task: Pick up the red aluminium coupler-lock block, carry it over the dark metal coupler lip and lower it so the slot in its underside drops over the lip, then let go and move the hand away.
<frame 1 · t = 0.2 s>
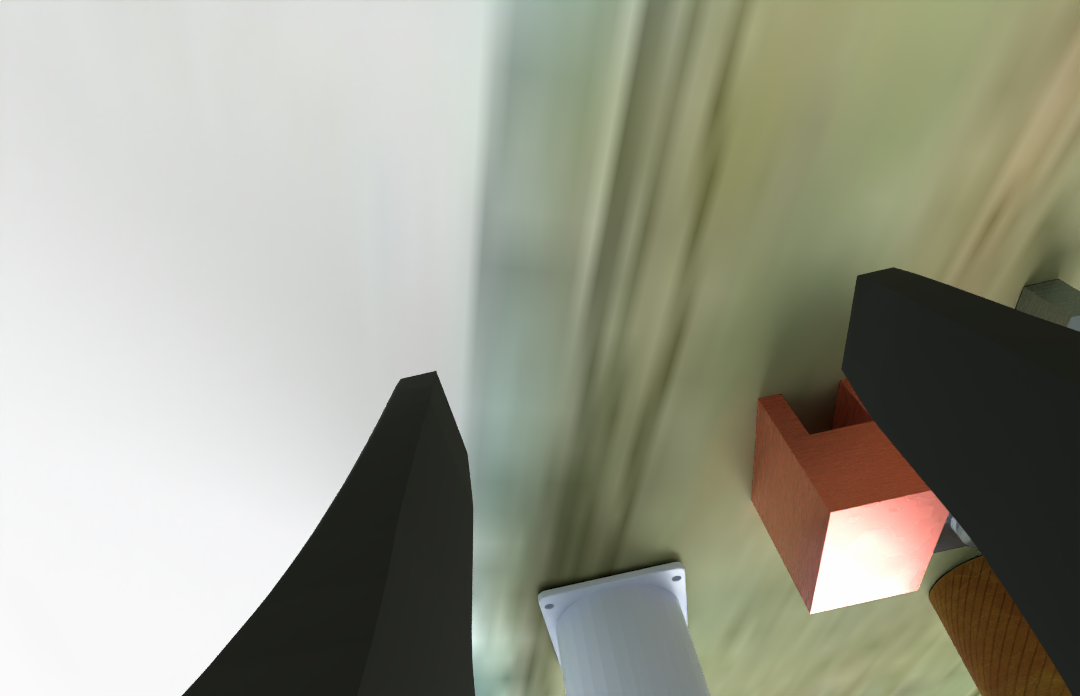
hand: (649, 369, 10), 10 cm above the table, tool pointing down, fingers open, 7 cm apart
coupler lip: (1007, 368, 26), on the table
disposable coffee cup: (975, 577, 38), on the table
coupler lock: (802, 442, 27), on the table
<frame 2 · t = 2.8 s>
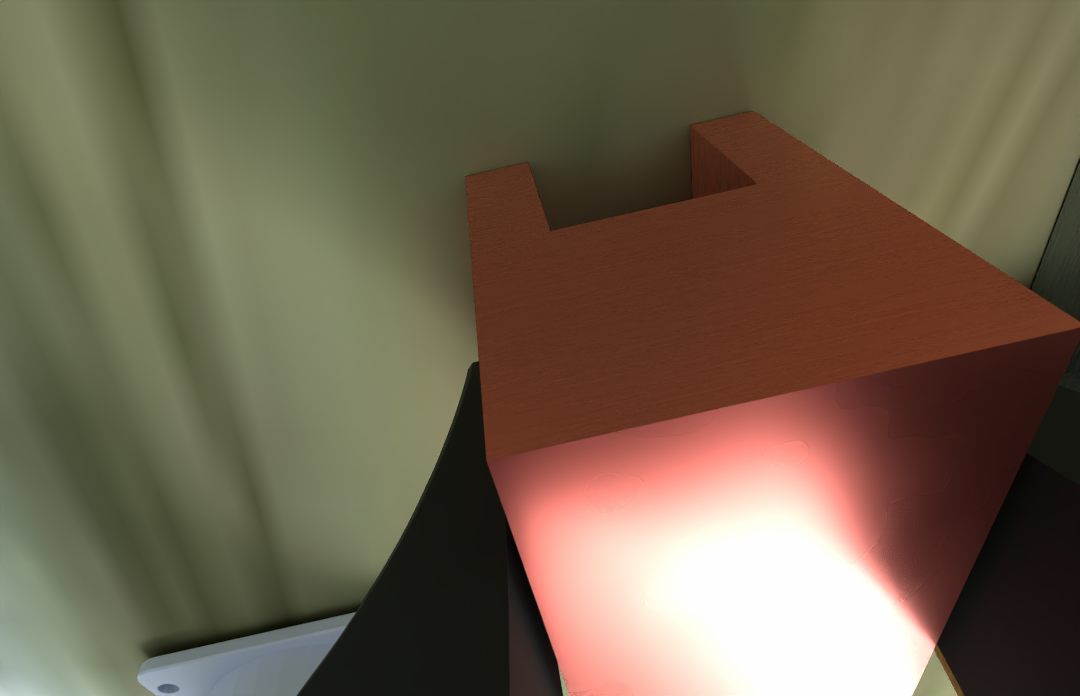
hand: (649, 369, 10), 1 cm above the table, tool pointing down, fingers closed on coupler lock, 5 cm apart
disposable coffee cup: (1015, 614, 22), on the table
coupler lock: (628, 323, 11), on the table, touching gripper
when the fingers open (2 cm above the table, at t = 6.9 s): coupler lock stays where it is, resting in coupler lip.
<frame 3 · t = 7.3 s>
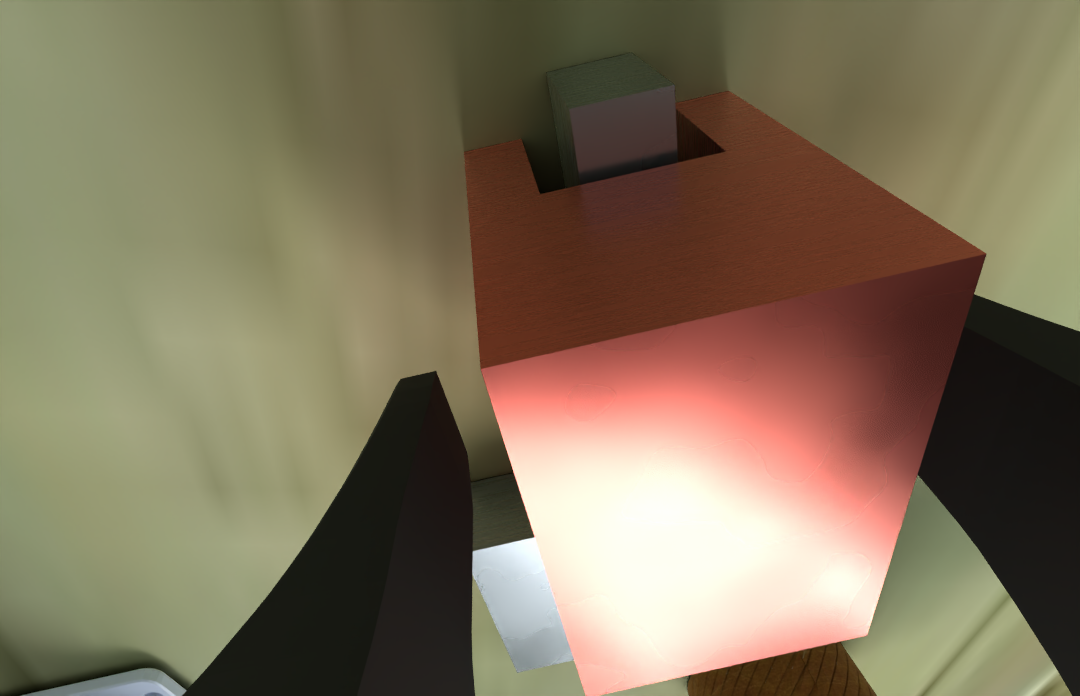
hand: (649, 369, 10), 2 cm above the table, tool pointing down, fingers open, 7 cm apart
coupler lip: (617, 296, 12), on the table
disposable coffee cup: (761, 664, 24), on the table
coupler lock: (617, 292, 12), resting in coupler lip
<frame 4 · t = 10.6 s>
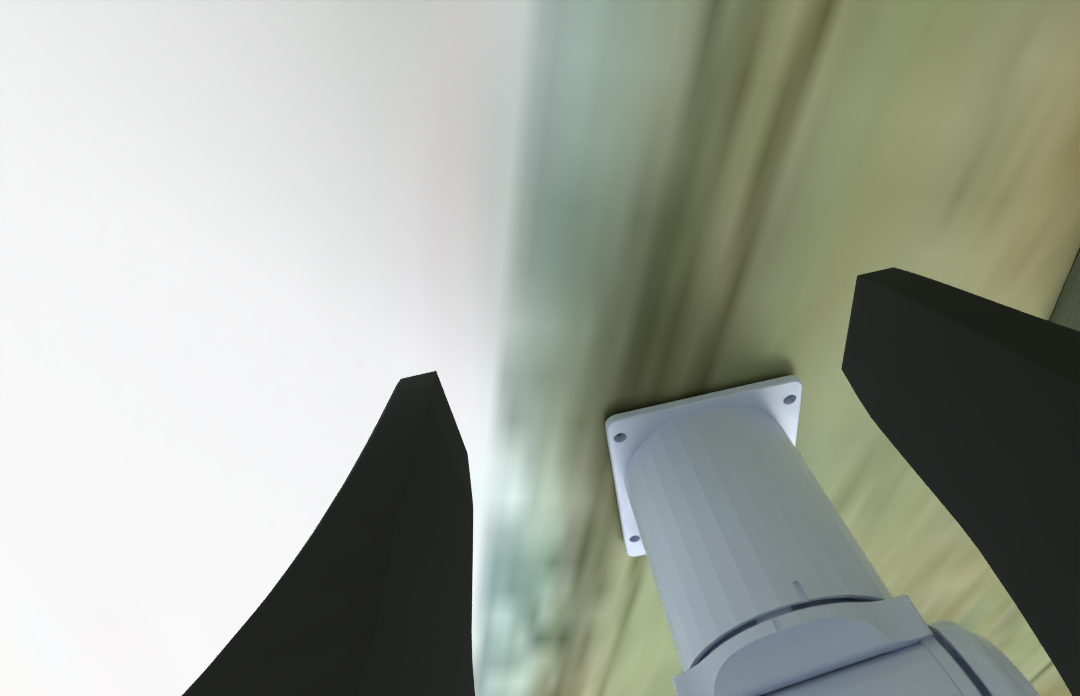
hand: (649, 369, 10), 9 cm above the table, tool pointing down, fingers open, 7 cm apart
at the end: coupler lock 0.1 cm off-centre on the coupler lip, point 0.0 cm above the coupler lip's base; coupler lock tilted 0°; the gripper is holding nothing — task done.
